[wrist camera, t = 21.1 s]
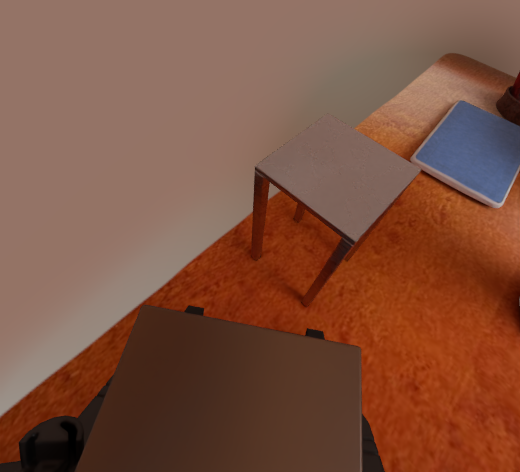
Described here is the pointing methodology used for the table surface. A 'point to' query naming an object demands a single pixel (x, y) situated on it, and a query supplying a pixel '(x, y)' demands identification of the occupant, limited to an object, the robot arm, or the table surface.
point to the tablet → (472, 153)
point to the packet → (227, 400)
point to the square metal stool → (332, 186)
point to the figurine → (511, 103)
